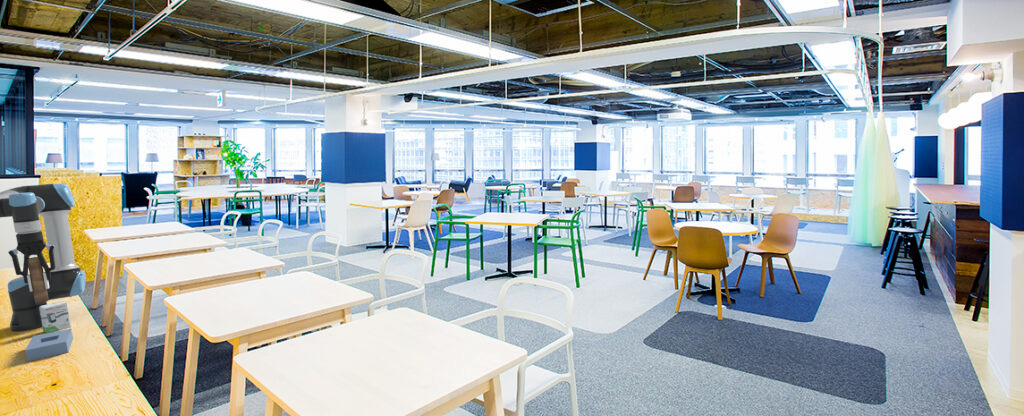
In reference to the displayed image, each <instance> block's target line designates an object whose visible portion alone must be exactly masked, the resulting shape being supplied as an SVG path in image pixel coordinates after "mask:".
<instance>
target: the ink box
mask: <svg viewBox="0 0 1024 416" xmlns="http://www.w3.org/2000/svg"><path fill="white" fill-rule="evenodd" d="M39 309H40V315H41V321H42V331H43V332H44V334H47V333H52V332H57V331H62V330H66V329H70V328H71V327H72V324H71V319H70V314H69V308H68V303H67V302H66V301H63V300H62V301H58V302H52V303H47V305H43V306H40V307H39Z"/></svg>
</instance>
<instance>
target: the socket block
mask: <svg viewBox="0 0 1024 416" xmlns="http://www.w3.org/2000/svg"><path fill="white" fill-rule="evenodd" d="M73 336H74V335H73V332H72V328H66V329H62V330H58V331H54V332H51V333H42V334H38V335H33V336H31V339H30V340H29V342H28V344H27V346H26V347H25V350H24V353H25V358H26V362H31V361H35V360H41V359H44V358H49V357H53V356H59V355H62V354H67V353H69V351H70V348H71V346H72V343H73V341H74V337H73ZM40 358H41V359H40Z"/></svg>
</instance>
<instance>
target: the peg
mask: <svg viewBox="0 0 1024 416" xmlns="http://www.w3.org/2000/svg"><path fill="white" fill-rule="evenodd" d="M44 272H45V271H44V268H43V266H42V264H41V262H40V260H39V258H38V257H37V256H33V257H29V259H28V274H30V278H31V283H32V288H33V293H34V298H35V303H43V302H47V303H48V302H49V301H50V300H49V298H48V293H47V289H46V287H45V282H44V276H43V273H44Z"/></svg>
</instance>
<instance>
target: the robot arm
mask: <svg viewBox="0 0 1024 416" xmlns="http://www.w3.org/2000/svg"><path fill="white" fill-rule="evenodd" d="M75 203H76V202H75V198H74V196H73V193H72V191H71V188H70V187H69V185H67V184H66V183H47V184H46V183H45V184H36V185H35V184H34V185H22V186H16V187H13V188H8V189H6V190H2V191H0V218H10V217H12V221H13V227H14V233H16V234H15V238H16V242H17V246H16V248H13V249H10V250H9V251H8V254H9V256H10V257H11V261H12V265H13V268H14V272H15V274H16V276H18V277H17V278H14V279H11V280H10V281H9V282H8V283H7V293H8V296H9V300H10V305H11V310H12V314H11V319H10V322H9V328H10V331H12V332H22V331H23V332H24V331H28V330H34V329H38V328H41V327H42V328H43V326H42V321H41V315H40V309H39V307H40V306H43V305H47V304H48V301H47V302H43V303H35V298H34V293H33V288H32V283H31V278H30V273H29V267H28V259H29V258H31V256H36V257H38V258H39V260H40V262H41V264H42V266H43V272H44V273H43V276H44V282H45V287H46V289H47V293H48V298H49V301H53V300H57V299H59V300H60V299H64V298H72V297H76V296H81V295H82V294H83V293H84V291H85V289H86V283H87V282H86V279H87V277H86V272H85V270H83V269H81V267H80V266H79V265H77V264H76V263H75V256H74V249H73V243H72V235H71V228H70V222H69V216H68V215H69V214H70V212H71V213H72V208H73V207H75ZM40 216H41V217H43V218H42V219H43V224H44V231H45V237H46V242H45V240H44V235H43V231H41V230H42V225H41V224H42V223H41V219H40ZM45 248H46V250H47V252H48V257H49V265H50V267H49V265H48V262H47V260H46V258H45V256H44V254H43V251H44V249H45ZM18 251H19V252H18ZM18 253H21V254H23V266H22V270H21V266H20V265H21V264H20V262H19V257H18Z"/></svg>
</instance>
